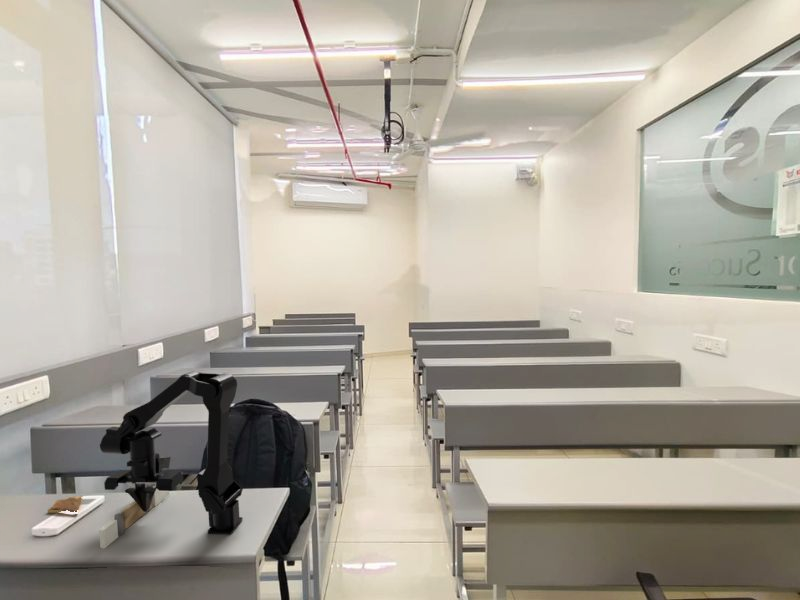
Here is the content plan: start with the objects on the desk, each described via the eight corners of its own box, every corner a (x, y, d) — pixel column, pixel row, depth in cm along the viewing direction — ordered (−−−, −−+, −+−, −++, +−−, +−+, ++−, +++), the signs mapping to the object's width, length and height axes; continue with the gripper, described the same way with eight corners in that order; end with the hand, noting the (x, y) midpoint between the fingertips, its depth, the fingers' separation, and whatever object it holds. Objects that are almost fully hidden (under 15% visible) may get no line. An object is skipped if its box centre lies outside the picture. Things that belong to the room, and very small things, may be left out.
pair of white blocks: (170, 494, 125) (169, 478, 124) (106, 548, 100) (104, 528, 100) (164, 494, 125) (163, 478, 125) (99, 547, 100) (97, 527, 100)
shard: (78, 517, 115) (77, 510, 115) (42, 526, 111) (42, 519, 111) (84, 499, 124) (83, 493, 124) (51, 507, 120) (50, 501, 120)
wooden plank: (125, 528, 107) (124, 511, 107) (117, 528, 107) (116, 511, 107) (153, 506, 118) (152, 490, 117) (145, 506, 118) (144, 490, 118)
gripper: (193, 442, 118) (196, 495, 119) (131, 441, 119) (135, 494, 120) (168, 459, 107) (172, 518, 108) (100, 458, 108) (104, 516, 109)
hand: (146, 510), depth 111 cm, fingers closed
